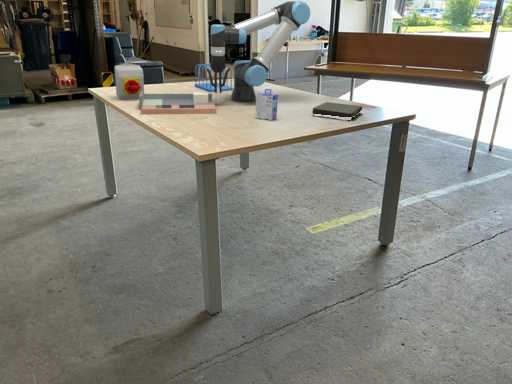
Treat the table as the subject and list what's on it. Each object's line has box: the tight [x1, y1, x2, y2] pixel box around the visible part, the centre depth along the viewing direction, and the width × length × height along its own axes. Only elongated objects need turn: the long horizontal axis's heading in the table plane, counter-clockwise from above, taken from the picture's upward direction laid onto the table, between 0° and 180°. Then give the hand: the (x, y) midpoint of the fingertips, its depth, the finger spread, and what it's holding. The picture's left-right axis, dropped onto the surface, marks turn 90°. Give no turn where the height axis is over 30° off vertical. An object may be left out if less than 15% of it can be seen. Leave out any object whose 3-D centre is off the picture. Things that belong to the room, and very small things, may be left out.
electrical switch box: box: [114, 63, 145, 101], centre depth 252 cm, size 15×15×20 cm
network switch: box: [312, 101, 363, 117], centre depth 229 cm, size 23×24×5 cm
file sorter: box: [194, 63, 234, 93], centre depth 296 cm, size 25×17×15 cm
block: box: [192, 91, 209, 103], centre depth 241 cm, size 8×8×4 cm
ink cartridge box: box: [255, 88, 279, 121], centre depth 215 cm, size 10×6×14 cm, turn 58°
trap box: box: [138, 90, 217, 115], centre depth 233 cm, size 40×28×7 cm
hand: (218, 98), depth 243 cm, fingers closed
